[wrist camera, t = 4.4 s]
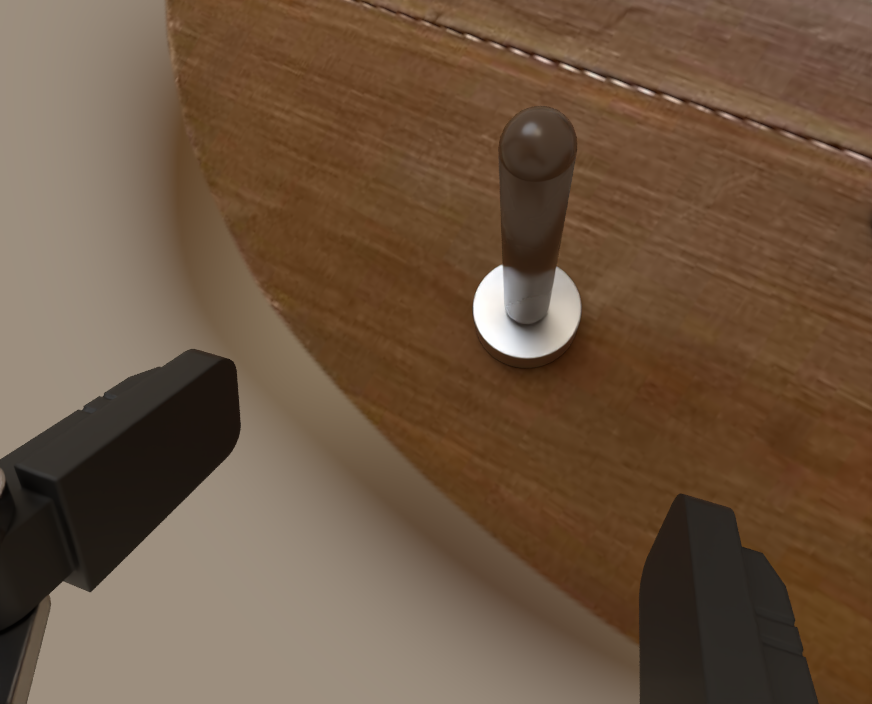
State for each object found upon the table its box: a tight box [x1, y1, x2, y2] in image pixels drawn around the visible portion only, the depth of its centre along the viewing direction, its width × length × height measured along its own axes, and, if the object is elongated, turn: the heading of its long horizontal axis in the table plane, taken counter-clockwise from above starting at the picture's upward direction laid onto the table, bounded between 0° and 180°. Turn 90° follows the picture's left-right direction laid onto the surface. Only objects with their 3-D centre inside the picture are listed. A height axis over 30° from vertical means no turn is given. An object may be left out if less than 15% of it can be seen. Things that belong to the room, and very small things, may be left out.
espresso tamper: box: [473, 106, 582, 368], centre depth 18 cm, size 4×4×13 cm
